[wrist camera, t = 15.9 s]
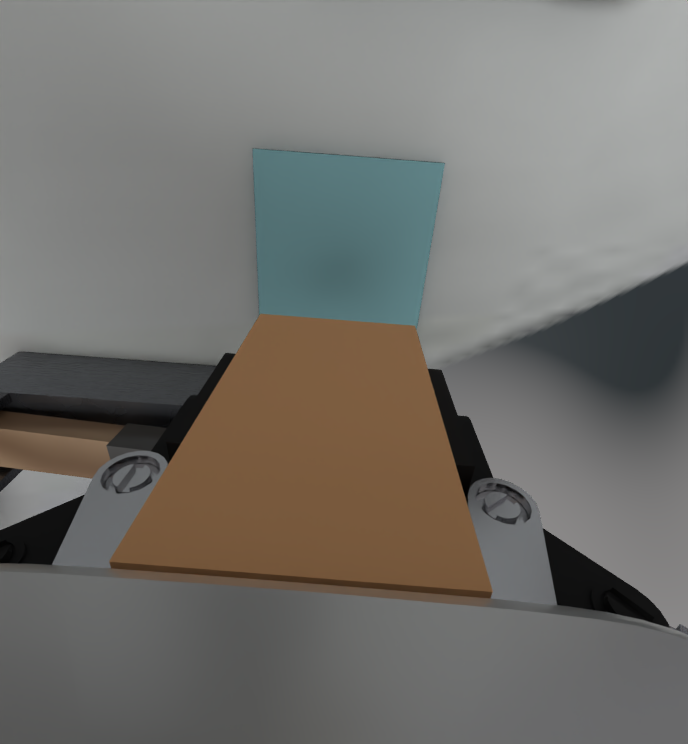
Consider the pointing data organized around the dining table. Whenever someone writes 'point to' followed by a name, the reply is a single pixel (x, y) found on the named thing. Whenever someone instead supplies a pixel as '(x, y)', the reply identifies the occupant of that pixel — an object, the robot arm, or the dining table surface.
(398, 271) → the mat
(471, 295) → the dining table surface
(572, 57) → the dining table surface
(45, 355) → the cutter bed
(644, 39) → the dining table surface
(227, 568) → the orange rectangular block
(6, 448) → the handle
